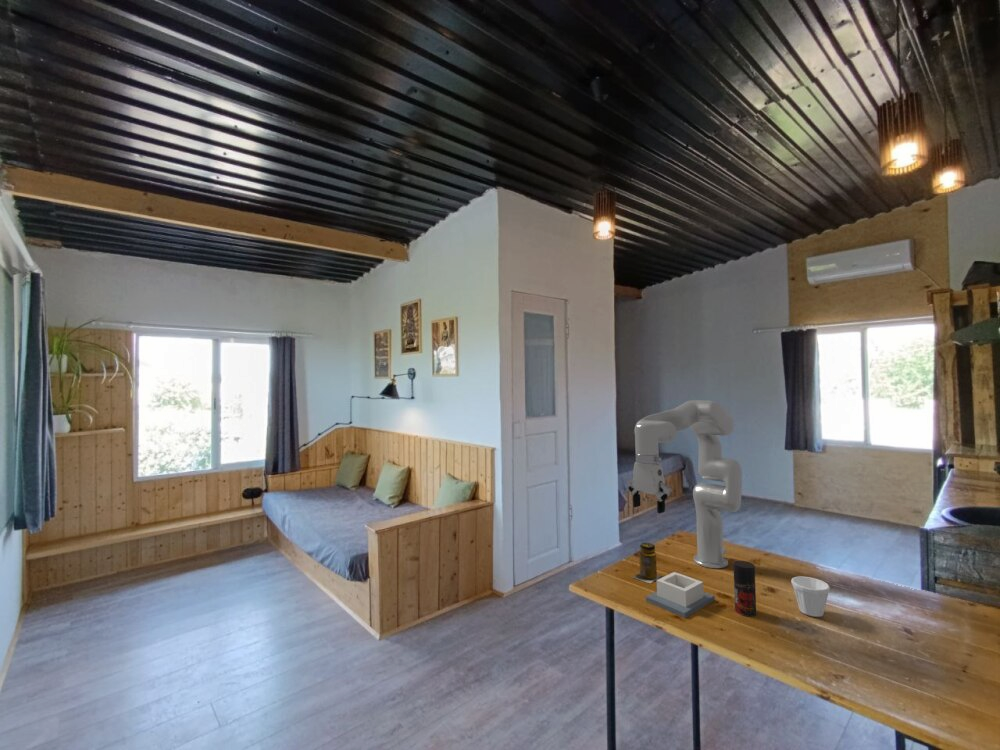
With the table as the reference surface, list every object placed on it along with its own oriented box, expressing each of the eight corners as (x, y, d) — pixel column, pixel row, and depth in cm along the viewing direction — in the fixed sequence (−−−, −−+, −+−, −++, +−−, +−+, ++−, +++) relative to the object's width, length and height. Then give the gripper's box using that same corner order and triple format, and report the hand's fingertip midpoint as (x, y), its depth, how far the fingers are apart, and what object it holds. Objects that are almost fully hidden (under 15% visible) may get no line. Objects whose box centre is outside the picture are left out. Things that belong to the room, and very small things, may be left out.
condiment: (661, 576, 170) (660, 544, 170) (650, 584, 164) (649, 550, 164) (643, 571, 175) (642, 540, 175) (632, 578, 169) (631, 545, 169)
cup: (837, 622, 135) (836, 591, 135) (800, 619, 137) (799, 589, 137) (821, 606, 145) (820, 577, 145) (786, 603, 147) (785, 575, 147)
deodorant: (730, 609, 144) (729, 562, 145) (744, 605, 146) (742, 559, 147) (746, 618, 139) (744, 569, 139) (760, 614, 141) (759, 566, 141)
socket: (676, 585, 162) (675, 567, 162) (714, 600, 151) (713, 580, 151) (646, 601, 151) (645, 581, 151) (684, 617, 140) (683, 596, 140)
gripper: (676, 461, 149) (677, 513, 149) (633, 455, 164) (634, 502, 163) (662, 463, 145) (664, 517, 145) (619, 457, 159) (621, 506, 159)
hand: (648, 509), depth 154 cm, fingers open, 9 cm apart
